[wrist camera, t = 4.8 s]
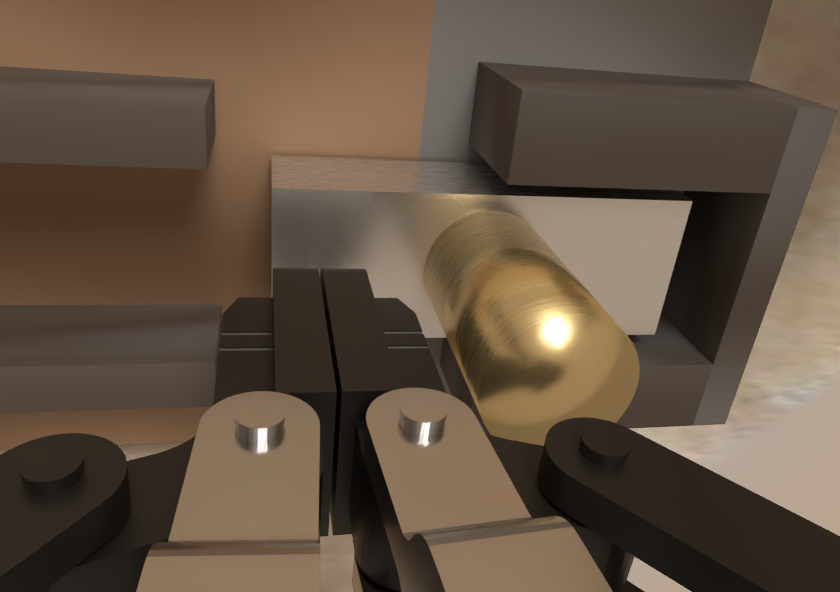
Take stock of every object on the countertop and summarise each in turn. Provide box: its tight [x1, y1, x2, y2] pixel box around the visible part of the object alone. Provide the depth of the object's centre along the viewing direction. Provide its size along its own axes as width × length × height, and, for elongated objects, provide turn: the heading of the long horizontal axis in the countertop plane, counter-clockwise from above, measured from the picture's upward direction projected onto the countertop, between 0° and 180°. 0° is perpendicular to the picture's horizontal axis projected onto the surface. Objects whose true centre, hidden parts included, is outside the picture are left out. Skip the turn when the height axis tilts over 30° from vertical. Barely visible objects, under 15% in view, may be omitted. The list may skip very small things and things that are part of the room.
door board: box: [0, 0, 837, 450], centre depth 14 cm, size 11×22×4 cm, turn 84°
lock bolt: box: [271, 155, 693, 446], centre depth 13 cm, size 3×8×6 cm, turn 84°
